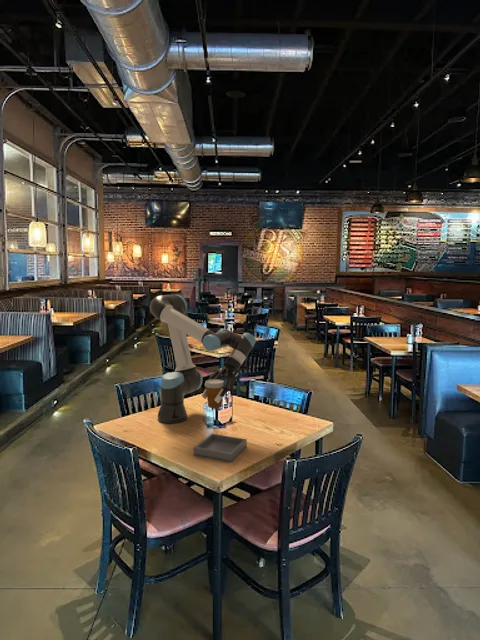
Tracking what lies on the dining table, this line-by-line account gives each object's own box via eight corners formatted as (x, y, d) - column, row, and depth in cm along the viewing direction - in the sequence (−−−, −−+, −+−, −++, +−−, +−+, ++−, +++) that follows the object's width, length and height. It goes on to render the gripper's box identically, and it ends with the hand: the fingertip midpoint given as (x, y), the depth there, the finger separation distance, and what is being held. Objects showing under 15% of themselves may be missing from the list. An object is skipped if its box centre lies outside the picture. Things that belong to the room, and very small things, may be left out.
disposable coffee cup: (226, 403, 210) (225, 379, 209) (223, 409, 201) (223, 384, 199) (206, 402, 211) (206, 378, 210) (203, 409, 202) (202, 384, 200)
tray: (193, 455, 182) (193, 447, 182) (211, 440, 198) (211, 433, 197) (231, 462, 176) (231, 454, 175) (246, 446, 191) (246, 439, 191)
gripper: (254, 369, 207) (229, 409, 198) (224, 362, 222) (199, 398, 213) (246, 359, 202) (220, 400, 193) (216, 353, 218) (191, 390, 209)
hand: (209, 399), depth 203 cm, fingers closed on disposable coffee cup, 9 cm apart
